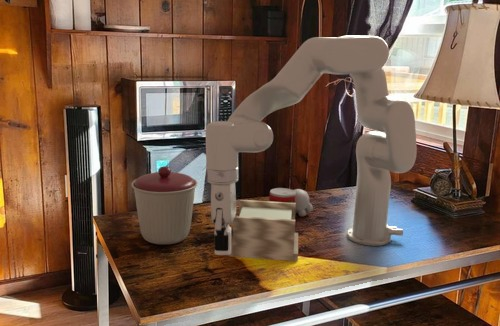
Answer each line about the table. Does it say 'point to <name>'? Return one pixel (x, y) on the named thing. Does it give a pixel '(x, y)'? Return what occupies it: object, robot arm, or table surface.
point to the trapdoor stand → (265, 234)
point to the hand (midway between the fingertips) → (223, 245)
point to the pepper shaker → (228, 242)
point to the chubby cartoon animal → (302, 203)
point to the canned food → (282, 195)
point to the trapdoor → (266, 212)
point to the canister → (164, 205)
